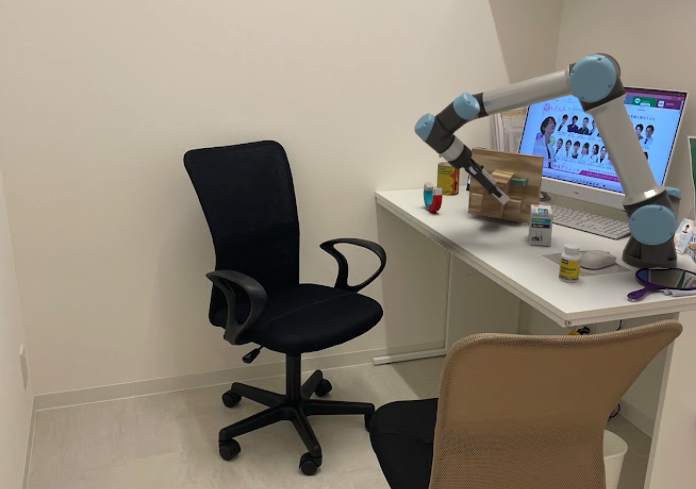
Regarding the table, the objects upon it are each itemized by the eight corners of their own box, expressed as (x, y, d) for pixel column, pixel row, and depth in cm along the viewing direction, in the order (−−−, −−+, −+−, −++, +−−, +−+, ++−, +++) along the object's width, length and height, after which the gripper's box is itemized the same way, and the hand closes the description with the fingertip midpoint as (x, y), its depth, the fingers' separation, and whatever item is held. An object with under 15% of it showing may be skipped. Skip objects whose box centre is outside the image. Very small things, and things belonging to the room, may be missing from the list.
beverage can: (446, 196, 281) (448, 167, 277) (432, 192, 288) (433, 163, 284) (463, 193, 286) (464, 164, 282) (448, 189, 293) (449, 161, 289)
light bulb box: (550, 246, 222) (554, 214, 219) (528, 245, 224) (531, 212, 220) (548, 236, 232) (551, 205, 229) (527, 235, 234) (530, 204, 230)
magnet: (422, 207, 266) (423, 181, 262) (429, 206, 266) (430, 181, 263) (434, 215, 255) (435, 189, 252) (441, 215, 256) (443, 188, 253)
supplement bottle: (555, 280, 194) (559, 246, 191) (561, 274, 199) (565, 241, 196) (575, 284, 192) (579, 250, 188) (581, 278, 196) (585, 245, 193)
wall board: (528, 229, 239) (534, 160, 232) (460, 216, 254) (463, 151, 246) (540, 221, 248) (547, 154, 240) (474, 209, 263) (478, 146, 255)
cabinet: (500, 218, 235) (506, 183, 230) (479, 213, 237) (485, 179, 232) (509, 205, 248) (514, 173, 244) (489, 201, 251) (494, 169, 246)
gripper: (438, 147, 229) (481, 185, 237) (456, 176, 207) (503, 217, 215) (454, 130, 227) (497, 169, 235) (474, 158, 205) (521, 200, 213)
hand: (500, 192), depth 225 cm, fingers open, 13 cm apart
